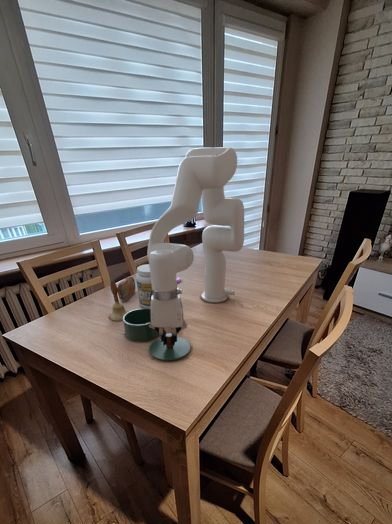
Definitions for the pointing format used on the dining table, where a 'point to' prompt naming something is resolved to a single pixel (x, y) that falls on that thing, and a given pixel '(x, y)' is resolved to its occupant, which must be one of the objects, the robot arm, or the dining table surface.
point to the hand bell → (116, 304)
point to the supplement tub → (144, 286)
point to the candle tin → (139, 325)
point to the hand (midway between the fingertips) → (169, 342)
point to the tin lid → (169, 348)
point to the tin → (126, 288)
